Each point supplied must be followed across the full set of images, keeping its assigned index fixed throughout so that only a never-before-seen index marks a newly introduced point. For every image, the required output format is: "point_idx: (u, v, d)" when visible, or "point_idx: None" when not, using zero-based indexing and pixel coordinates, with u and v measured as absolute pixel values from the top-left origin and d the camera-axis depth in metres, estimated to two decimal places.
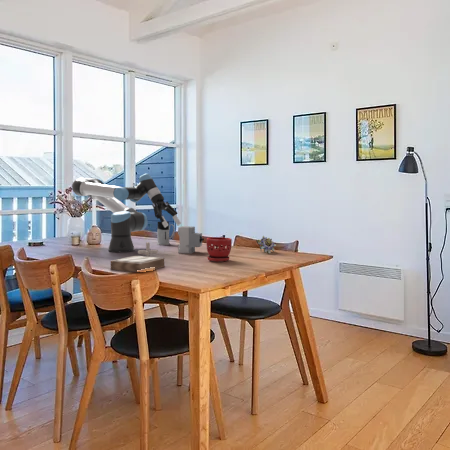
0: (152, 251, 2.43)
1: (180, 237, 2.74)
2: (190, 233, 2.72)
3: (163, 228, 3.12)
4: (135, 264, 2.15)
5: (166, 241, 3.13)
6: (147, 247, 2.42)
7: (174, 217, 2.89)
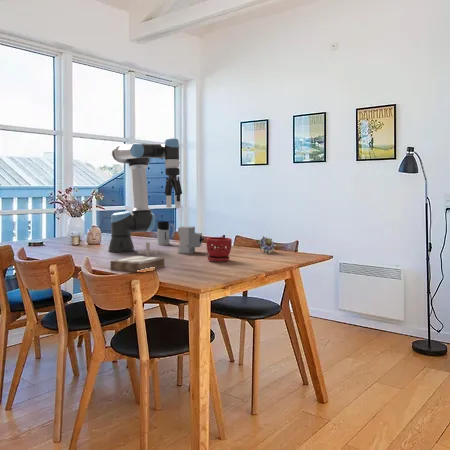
0: (152, 251, 2.43)
1: (180, 237, 2.74)
2: (190, 233, 2.72)
3: (163, 228, 3.12)
4: (135, 264, 2.15)
5: (166, 241, 3.13)
6: (147, 247, 2.42)
7: (168, 197, 2.58)
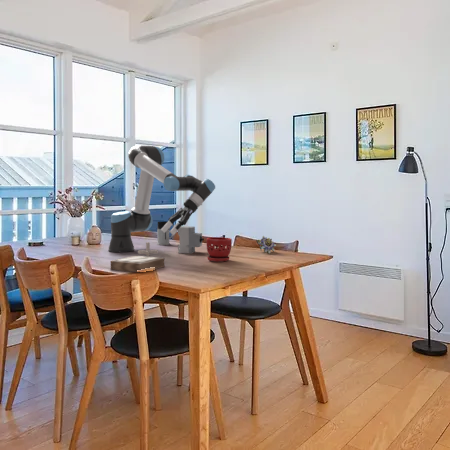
0: (152, 251, 2.43)
1: (180, 237, 2.74)
2: (190, 233, 2.72)
3: None
4: (135, 264, 2.15)
5: (166, 241, 3.13)
6: (147, 247, 2.42)
7: (169, 223, 2.54)
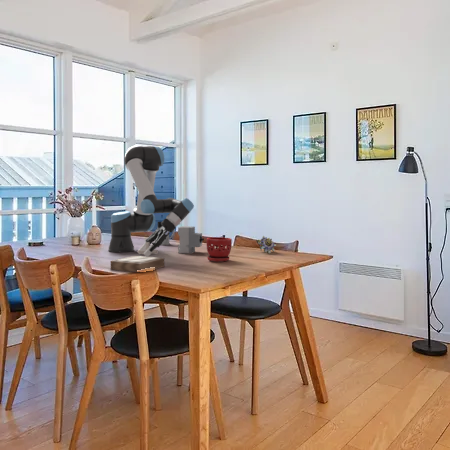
0: None
1: (180, 237, 2.74)
2: (190, 233, 2.72)
3: None
4: (135, 264, 2.15)
5: (166, 241, 3.13)
6: (147, 247, 2.42)
7: None
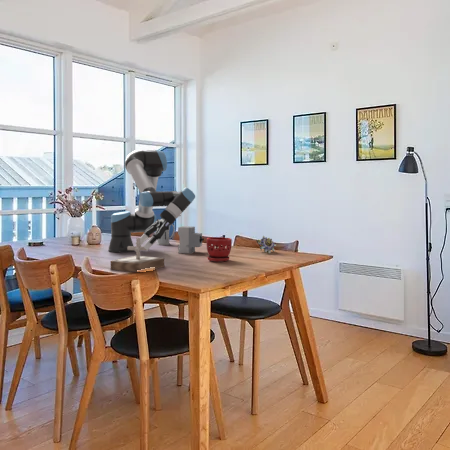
0: (143, 248, 2.24)
1: (180, 237, 2.74)
2: (190, 233, 2.72)
3: None
4: (135, 264, 2.15)
5: (166, 241, 3.13)
6: (137, 243, 2.23)
7: (144, 236, 2.32)
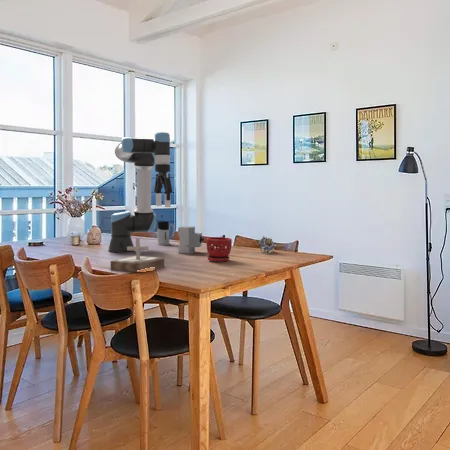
0: (142, 247, 2.24)
1: (180, 237, 2.74)
2: (190, 233, 2.72)
3: (163, 228, 3.12)
4: (135, 264, 2.15)
5: (166, 241, 3.13)
6: (137, 243, 2.24)
7: (158, 195, 2.42)
